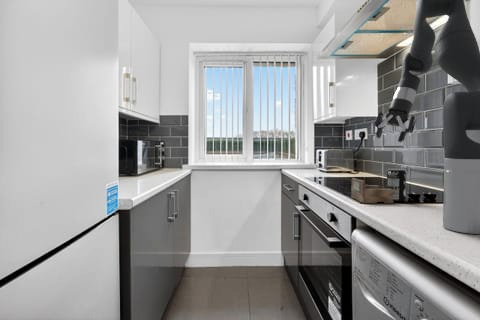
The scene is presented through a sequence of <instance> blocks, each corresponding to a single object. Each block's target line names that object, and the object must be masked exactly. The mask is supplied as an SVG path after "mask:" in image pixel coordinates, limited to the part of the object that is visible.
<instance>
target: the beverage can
mask: <svg viewBox="0 0 480 320" xmlns="http://www.w3.org/2000/svg"><path fill="white" fill-rule="evenodd" d="M386 189H393V202H394V201H403V202H405V201H404V200H406V199H407V172H406V169H405V168H388V169H387V171H386Z"/></svg>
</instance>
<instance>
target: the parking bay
mask: <svg viewBox="0 0 480 320" xmlns="http://www.w3.org/2000/svg"><path fill="white" fill-rule="evenodd" d="M350 187H351V191H350V192H351V193H350V195H351V199H353V198H354V199H353V200H355V199H356V200H355V201H357V200H358V201H357V202H359V201H360V202H359V203H361V202H362V203H361V204H378V203H377V202H384V203H383V204H394V201H393V189H387V188H380V187H381V186H380V185H376V184H375V185H372V184H371V185H366V180H363V179H359V178H355V177H351V186H350Z"/></svg>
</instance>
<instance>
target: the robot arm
mask: <svg viewBox="0 0 480 320" xmlns="http://www.w3.org/2000/svg"><path fill="white" fill-rule="evenodd" d="M465 4H466V3H465V0H416V3H415V12H414V13H415V14H414V24H413V25H414V27H413V29H414V30H413V38H412V42H411V45H410V50H409V51H410V52H407V53H406V54H404V56H403V58H402V61H401V74H400V75H401V77H400V79H399V83H398V86H397V87H396V90H395V91H394V92H395V93H394V95H393V96H392V97H393V98H392V99H391V102H390V105H389V108H388V112H387V113H383V112H382V111H380V112H379V113H378V116H377V117H376V120H375V122H374V126H375V128H377V130H376V133H375V137H376V138H377V139H381V137H382V134H383V132H384V129H385V128H388V127H389V126H391V127H400V129H401V131H400V134H399V136H398V139H397V142H398V143H402V142H403V141H404V140H405V139H406V136H407V134H409V133H410V134H412V133H414V130H415V129H414V128H415V127H416V123H417V118H416V116H415V115H411V116H409V115H410V114H411V110H412V107H413V104H414V102H415V100H416V95H417V92H418V90H419V86H420V83H421V78H420V77H419V76H417V75H415V74H414V73H419V74H425V73H427V72H428V71H429V70H431V68H432V66H433V53H432V51H433V49H434V53H435V56H436V61H437V64H438V67H440V69H442V70H443V71H444V72H445V73H446V74H448V76H449V77H451V78H452V79H453V80H455V81H457V82H459V83H460V84H461V85H462V86H463V87H464V88H465V89H466V91H455V92H454V91H453V92H452V93H448V95H447V96H446V98H445V100H444V102H443V105H442V127H443V128H442V129H443V130H442V131H443V132H442V133H443V136H442V137H443V151H444V152H443V153H444V161H443V167H444V168H443V198H442V199H443V200H442V201H443V205H442V207H443V208H442V227H443V228H444V229H447V230H448V231H449V230H450V231H453V232H457V233H464V234H473V235H480V143H479V142H477V141H475V140H473V139H471V138H470V137H469V136H468V135H467V131H480V47H479V44H478V40H477V38H476V35H475V33H474V30H473V29H472V27H471V23H470V20H469V17H468V13H467V9H466V5H465ZM443 16H448V19H447V21H446V22H445V24H444V25H443V26H442V28H441V29H440V31H439V32H438V34H437V35H436V33H435V29H433V28H432V26H431V25H430V24H429V23H428V21H427V19H431V18H436V17H437V18H438V17H443ZM411 72H414V73H411ZM385 118H386V119H385ZM406 122H409V123H408V127H406V125H405V123H406Z"/></svg>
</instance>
